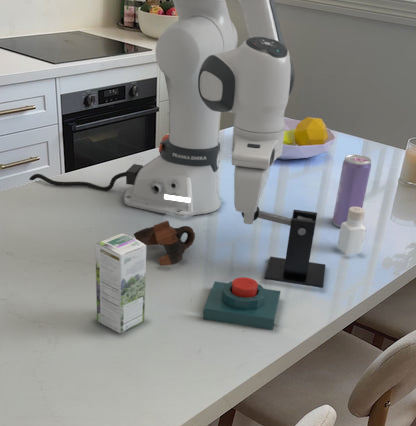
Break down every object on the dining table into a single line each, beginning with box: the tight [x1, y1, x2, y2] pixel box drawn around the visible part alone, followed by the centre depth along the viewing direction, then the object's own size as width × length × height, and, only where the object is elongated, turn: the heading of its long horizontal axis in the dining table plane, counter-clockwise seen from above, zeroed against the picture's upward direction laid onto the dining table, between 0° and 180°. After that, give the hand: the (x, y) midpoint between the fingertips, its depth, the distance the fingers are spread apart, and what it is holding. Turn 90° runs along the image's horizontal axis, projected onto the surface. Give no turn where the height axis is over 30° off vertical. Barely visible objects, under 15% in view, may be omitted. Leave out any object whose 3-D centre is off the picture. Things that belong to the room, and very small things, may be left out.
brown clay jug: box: [133, 220, 196, 266], centre depth 131 cm, size 12×10×8 cm
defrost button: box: [231, 276, 259, 298], centre depth 115 cm, size 4×4×2 cm
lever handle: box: [240, 205, 312, 227], centre depth 123 cm, size 13×3×3 cm, turn 79°
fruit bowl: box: [278, 116, 337, 160], centre depth 188 cm, size 28×27×11 cm
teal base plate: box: [202, 280, 281, 331], centre depth 116 cm, size 12×10×4 cm
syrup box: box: [95, 233, 147, 334], centre depth 107 cm, size 6×6×14 cm
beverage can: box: [332, 154, 372, 229], centre depth 147 cm, size 6×6×15 cm
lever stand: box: [264, 209, 326, 289], centre depth 126 cm, size 11×9×12 cm
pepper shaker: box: [336, 207, 367, 255], centre depth 137 cm, size 4×4×10 cm
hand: (250, 217), depth 124 cm, fingers closed on lever handle, 3 cm apart
